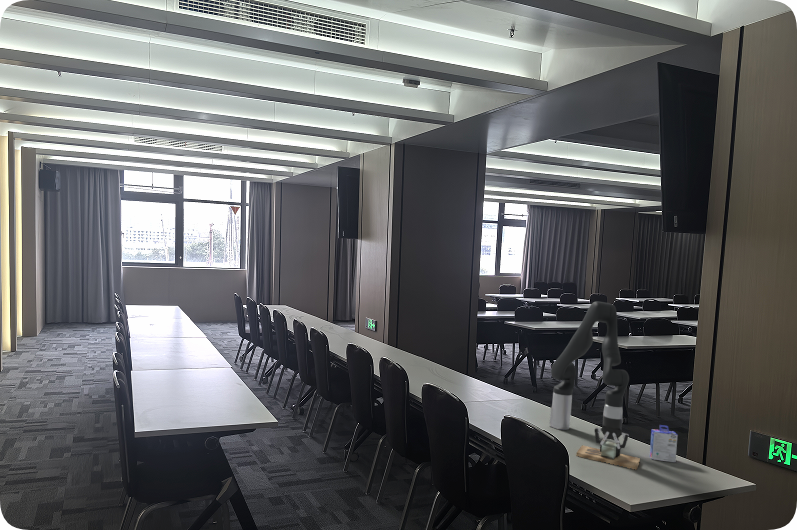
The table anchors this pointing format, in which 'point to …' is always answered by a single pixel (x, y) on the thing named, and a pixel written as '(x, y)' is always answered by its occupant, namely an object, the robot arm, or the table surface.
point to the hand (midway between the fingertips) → (609, 454)
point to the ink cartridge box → (663, 444)
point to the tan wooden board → (620, 460)
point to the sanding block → (609, 450)
